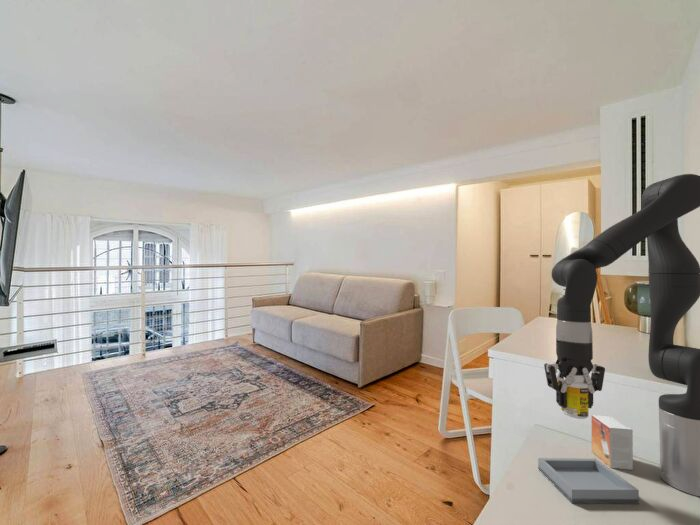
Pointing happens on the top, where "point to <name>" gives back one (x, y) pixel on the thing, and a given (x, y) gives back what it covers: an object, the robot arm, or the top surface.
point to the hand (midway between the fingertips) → (574, 406)
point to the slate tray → (588, 481)
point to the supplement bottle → (577, 398)
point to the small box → (612, 442)
